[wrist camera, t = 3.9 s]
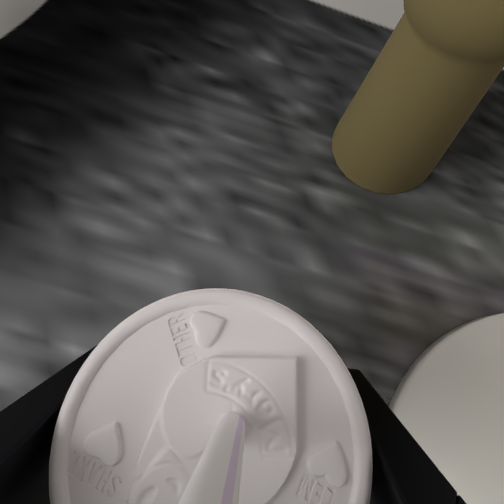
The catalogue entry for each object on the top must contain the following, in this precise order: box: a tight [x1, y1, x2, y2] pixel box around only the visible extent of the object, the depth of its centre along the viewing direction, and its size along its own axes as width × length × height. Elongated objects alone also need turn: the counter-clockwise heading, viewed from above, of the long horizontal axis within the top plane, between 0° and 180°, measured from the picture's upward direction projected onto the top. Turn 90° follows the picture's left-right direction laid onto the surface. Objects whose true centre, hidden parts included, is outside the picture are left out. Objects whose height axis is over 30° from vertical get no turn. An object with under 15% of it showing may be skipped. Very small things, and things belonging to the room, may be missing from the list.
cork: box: [332, 0, 504, 194], centre depth 14 cm, size 6×6×11 cm
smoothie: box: [49, 288, 373, 504], centre depth 9 cm, size 6×6×14 cm
